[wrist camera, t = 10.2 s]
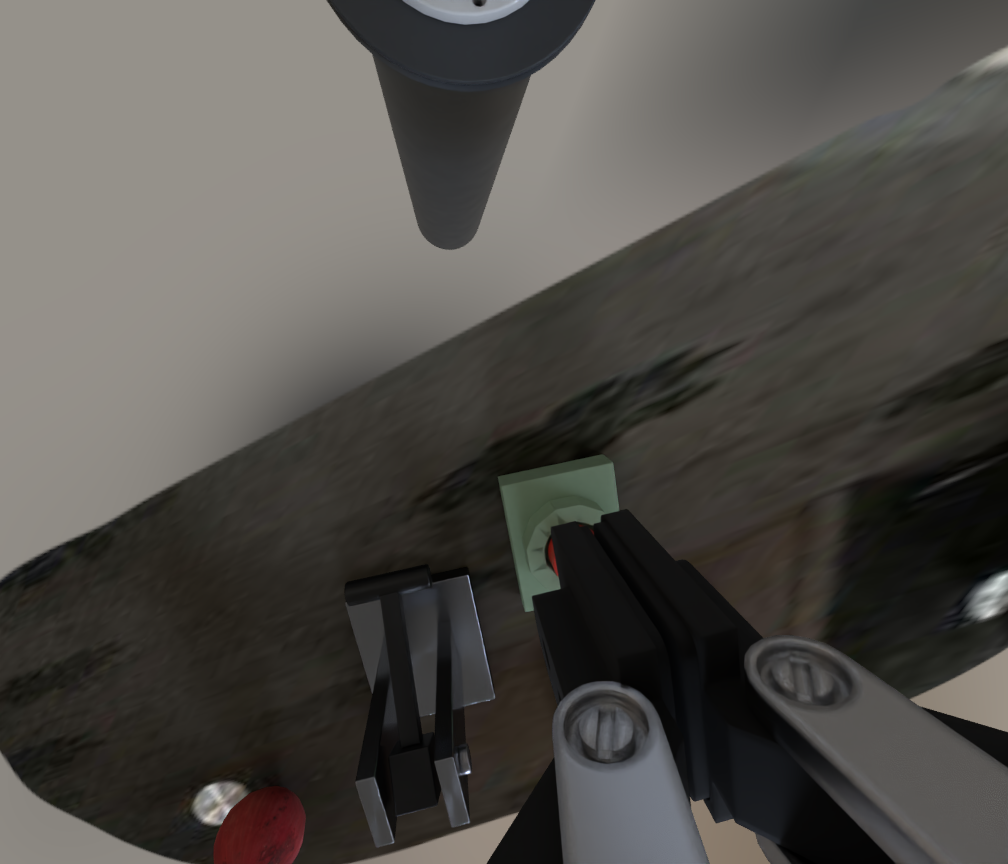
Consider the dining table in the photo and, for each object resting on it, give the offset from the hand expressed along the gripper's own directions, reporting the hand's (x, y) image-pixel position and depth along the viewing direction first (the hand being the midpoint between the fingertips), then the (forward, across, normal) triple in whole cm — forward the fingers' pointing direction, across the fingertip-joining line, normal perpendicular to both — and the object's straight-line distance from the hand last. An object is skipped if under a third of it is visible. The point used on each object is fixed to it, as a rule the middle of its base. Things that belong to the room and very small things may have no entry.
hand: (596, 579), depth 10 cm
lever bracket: (+23, +9, +18) cm, 31 cm away
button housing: (+24, -3, +11) cm, 26 cm away
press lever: (+16, +9, +14) cm, 23 cm away
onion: (+23, +23, +28) cm, 43 cm away
